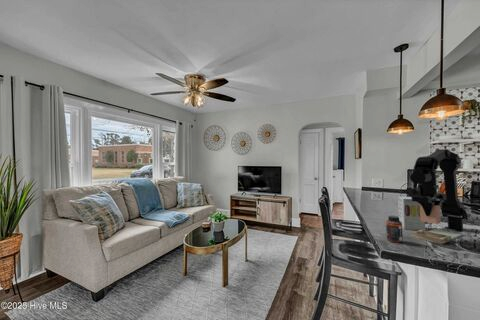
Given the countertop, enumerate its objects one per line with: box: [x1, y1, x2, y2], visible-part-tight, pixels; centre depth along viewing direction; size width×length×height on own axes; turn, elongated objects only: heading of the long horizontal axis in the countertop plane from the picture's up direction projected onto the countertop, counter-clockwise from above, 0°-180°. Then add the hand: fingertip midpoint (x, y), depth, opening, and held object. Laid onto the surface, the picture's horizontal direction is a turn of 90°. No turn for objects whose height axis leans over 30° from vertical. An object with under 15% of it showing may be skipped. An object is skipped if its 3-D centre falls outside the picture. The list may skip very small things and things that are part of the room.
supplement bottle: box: [385, 215, 404, 244], centre depth 94 cm, size 6×6×11 cm
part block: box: [420, 204, 442, 225], centre depth 97 cm, size 4×6×8 cm, turn 25°
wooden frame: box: [411, 230, 452, 245], centre depth 96 cm, size 9×11×2 cm
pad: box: [428, 228, 463, 240], centre depth 101 cm, size 10×10×1 cm
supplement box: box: [397, 196, 426, 231], centre depth 113 cm, size 10×9×17 cm
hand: (430, 215), depth 97 cm, fingers closed on part block, 4 cm apart
